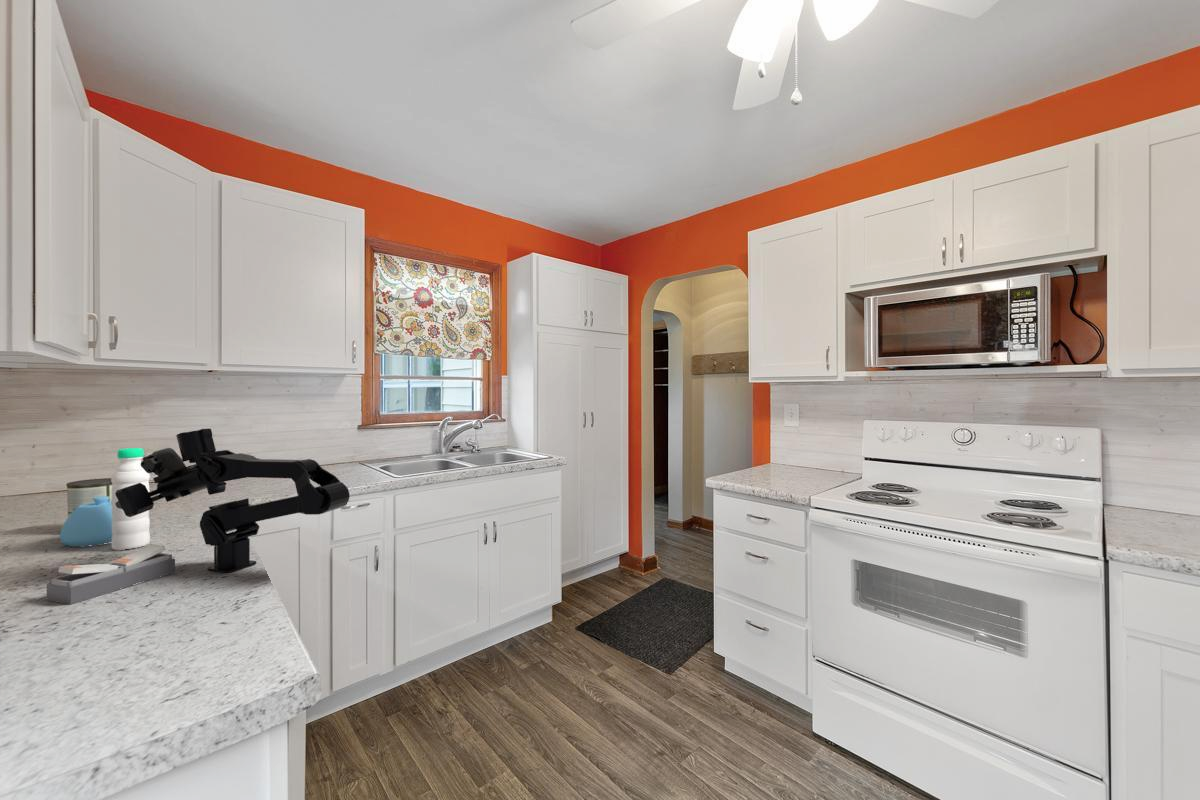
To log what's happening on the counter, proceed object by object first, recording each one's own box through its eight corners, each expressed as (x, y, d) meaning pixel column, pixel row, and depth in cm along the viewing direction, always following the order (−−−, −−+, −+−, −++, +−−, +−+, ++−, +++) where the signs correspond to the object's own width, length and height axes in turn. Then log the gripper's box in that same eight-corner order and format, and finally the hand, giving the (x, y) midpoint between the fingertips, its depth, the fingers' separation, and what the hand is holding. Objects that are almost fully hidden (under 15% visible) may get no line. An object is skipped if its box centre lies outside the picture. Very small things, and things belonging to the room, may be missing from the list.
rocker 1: (117, 571, 97) (118, 565, 98) (71, 574, 91) (73, 567, 91) (103, 569, 98) (105, 563, 99) (58, 572, 92) (60, 565, 92)
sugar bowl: (154, 534, 136) (154, 493, 136) (84, 551, 121) (84, 504, 121) (116, 531, 140) (116, 490, 140) (44, 546, 125) (44, 501, 125)
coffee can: (65, 530, 140) (65, 481, 140) (115, 523, 148) (115, 476, 148) (68, 537, 133) (68, 485, 133) (121, 529, 141) (120, 480, 141)
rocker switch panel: (175, 572, 106) (175, 554, 106) (70, 604, 90) (70, 583, 90) (152, 569, 108) (152, 551, 108) (46, 600, 92) (46, 579, 92)
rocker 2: (165, 549, 105) (163, 545, 105) (127, 568, 99) (125, 563, 99) (152, 548, 107) (151, 543, 106) (113, 566, 100) (112, 561, 100)
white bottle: (126, 552, 120) (125, 450, 120) (103, 550, 122) (103, 449, 122) (157, 543, 127) (156, 447, 127) (135, 542, 129) (135, 446, 129)
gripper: (214, 435, 119) (162, 453, 121) (135, 458, 100) (75, 479, 103) (233, 478, 120) (181, 495, 123) (158, 507, 102) (99, 527, 104)
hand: (138, 497), depth 113 cm, fingers open, 9 cm apart
